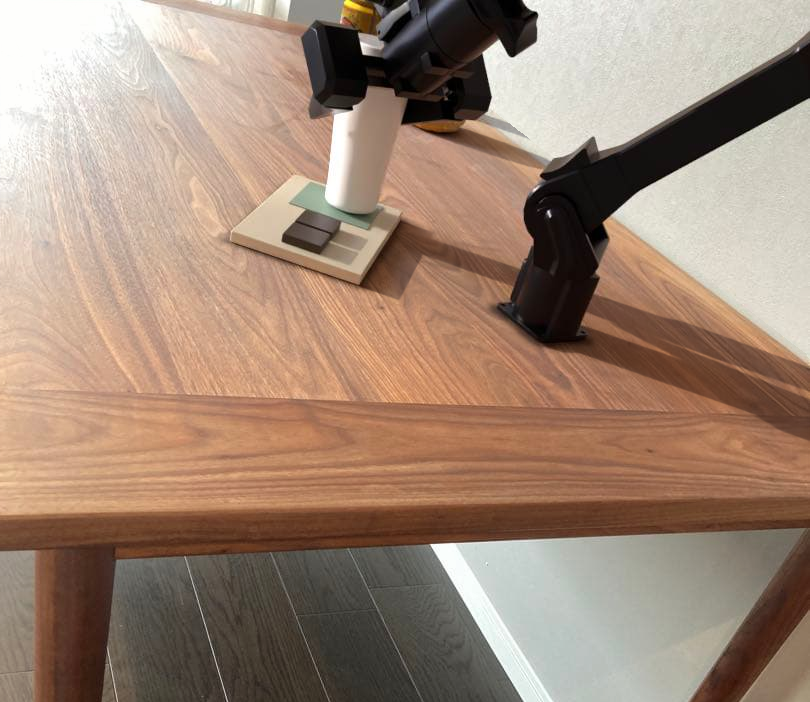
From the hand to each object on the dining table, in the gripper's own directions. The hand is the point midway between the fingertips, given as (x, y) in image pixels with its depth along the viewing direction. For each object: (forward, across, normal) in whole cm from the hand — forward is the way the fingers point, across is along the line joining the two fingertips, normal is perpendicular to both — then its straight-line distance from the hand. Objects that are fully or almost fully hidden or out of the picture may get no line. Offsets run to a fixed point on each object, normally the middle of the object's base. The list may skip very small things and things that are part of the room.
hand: (351, 117), depth 88 cm
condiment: (+44, -38, -31) cm, 66 cm away
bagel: (+28, -36, -15) cm, 48 cm away
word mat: (+3, +4, +10) cm, 11 cm away
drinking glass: (+5, -1, +7) cm, 8 cm away
